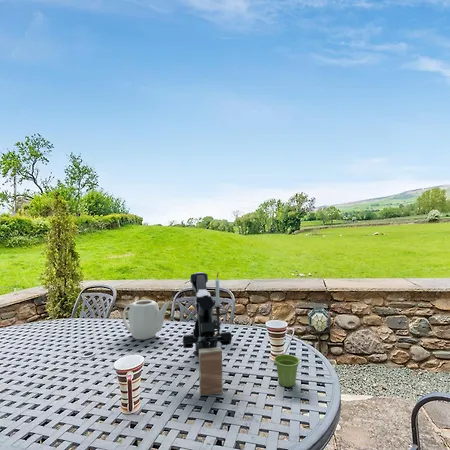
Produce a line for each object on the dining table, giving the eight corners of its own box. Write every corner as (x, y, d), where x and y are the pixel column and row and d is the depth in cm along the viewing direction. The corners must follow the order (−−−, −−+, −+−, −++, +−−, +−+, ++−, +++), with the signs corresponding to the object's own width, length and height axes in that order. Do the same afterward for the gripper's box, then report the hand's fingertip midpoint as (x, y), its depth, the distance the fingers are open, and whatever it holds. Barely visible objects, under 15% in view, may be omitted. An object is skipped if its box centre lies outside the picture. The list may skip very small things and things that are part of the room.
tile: (199, 391, 110) (198, 349, 111) (221, 388, 112) (220, 347, 112) (200, 396, 107) (199, 352, 107) (223, 393, 108) (222, 350, 108)
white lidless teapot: (166, 342, 158) (165, 305, 158) (116, 341, 161) (116, 305, 161) (174, 332, 174) (173, 298, 174) (129, 331, 177) (128, 298, 177)
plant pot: (301, 378, 118) (300, 355, 118) (298, 391, 109) (298, 366, 109) (276, 375, 121) (276, 353, 121) (272, 387, 112) (271, 363, 112)
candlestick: (227, 334, 169) (225, 270, 169) (230, 341, 158) (228, 272, 158) (207, 335, 167) (206, 270, 168) (209, 342, 157) (207, 273, 157)
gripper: (182, 314, 118) (183, 354, 107) (230, 311, 121) (236, 350, 110) (182, 328, 126) (183, 367, 115) (227, 325, 129) (233, 363, 118)
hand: (209, 362), depth 114 cm, fingers closed
